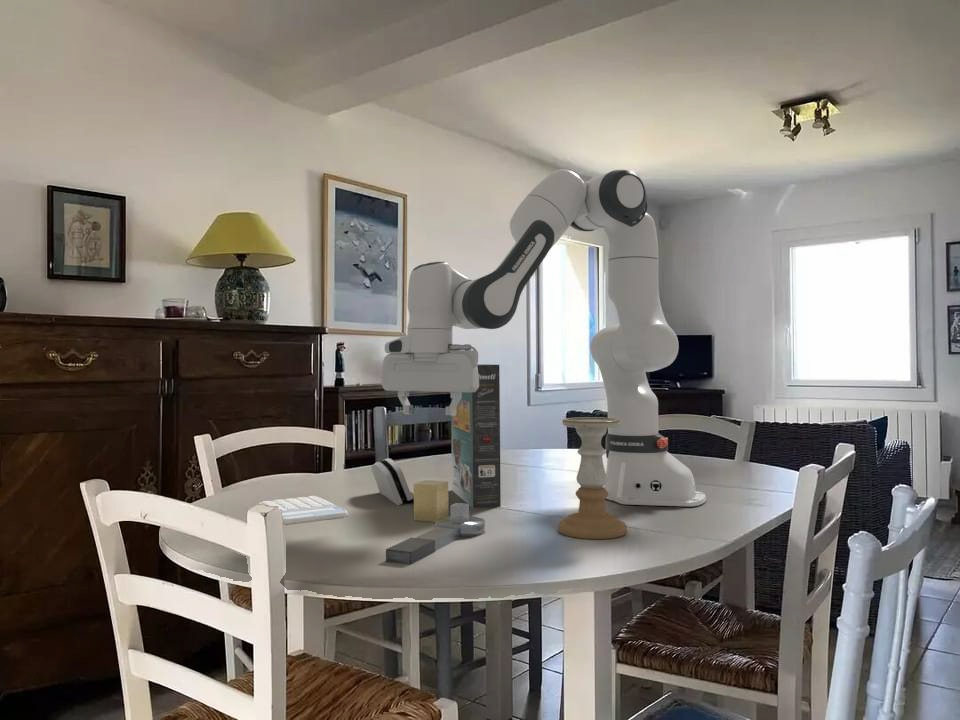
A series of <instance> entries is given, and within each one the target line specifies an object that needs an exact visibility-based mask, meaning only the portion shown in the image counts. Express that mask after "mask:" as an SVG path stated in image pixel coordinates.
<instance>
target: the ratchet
mask: <svg viewBox="0 0 960 720" xmlns="http://www.w3.org/2000/svg"><path fill="white" fill-rule="evenodd" d="M484 534H486V520H485V519H484V518H482V517H477V516H472V515H470V505H469V504H468V503H466V502H465V503H463V502H455V503H453V504H450V516H449V517H444V518H440V519H437V520H436V521H435V522H434V528H432V529H431V530H427V532H424V533H422V534H421V535H418V536H416V537H410V538H408V539H406V540H403V541H401V542H398V543H397V544H395V545H392V546H390V547H388V548H386V549H385V562H386V563H395V564H401V565H402V564H404V565H409V566H410V565H413V564H416V563H418V562H419V561H420V560H423V559H425V558H426V557H428V556H430V555H432V554H434V553H435V552H436V551H439V550H441V549H442V548H444V547H446V546H449V545H450V544H452V543H453V542H456V541H457V540H460V539H464V538H465V539H466V538H474V537H479V536H482V535H484Z"/></svg>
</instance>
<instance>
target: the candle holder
mask: <svg viewBox="0 0 960 720" xmlns="http://www.w3.org/2000/svg"><path fill="white" fill-rule="evenodd" d="M561 424H562V426H564V427H567V428H575V431H576V434H577V435H578V436H579V437H580V439H581V446H580V447H579V448H578V449H577V454H578V455H580V463H579V467H578V470H577V471H578V472H577V474H576V481H577V483H578V485H579V488H578V489H577V490H576V491H575V496H576V497H577V499H579V505H578V512H574V513H571V514H569V515H568V516H567V517H566V518H564V519H562V520H560V521H559V522H558V524H557V529H558V532H559V533H561V535H564V536H567V537H571V538H576V539H583V540H586V539H587V540H608V539H615V538H620V537H623V536H625V535H626V534H627V532H628V525H627V524H626V523H625V522H624V521H622V520H619V519H618V517H617V516H616V515H614V514H610V513H607V512H606V511H607V509H606V503H605V500H607V499H606V498H607V497H608V495H609V493H608V492H607V491H606V489H605V488H604V485H605V484H606V482H607V475H606V469H605V465H604V461H603V459H604V458H603V456H604V455H606V448H604V447H603V446H602V440H603V437H604V436H605V435H606V434H607V432H608V428H610V427H617V426H619V425H620V424H621V420H620V419H616V418H608V417H603V416H599V417H597V416H594V417H593V416H592V417H591V416H586V417H585V416H583V417H582V416H581V417H580V416H579V417H568V418H567V417H566V418H562V421H561Z"/></svg>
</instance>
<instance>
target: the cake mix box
mask: <svg viewBox="0 0 960 720" xmlns="http://www.w3.org/2000/svg"><path fill="white" fill-rule="evenodd" d="M477 367H478V375H479V388H478V389H477V391H476V392H470V393H467V392H462V398H461V400H460V402H459V404H458V405H457V407H456V416H450V417H451V422H450V423H451V426H450V427H451V431H450V432H451V491H452V492H453V493H455V494H456V495H457V496H458V497H459V498H460V499H462V501H464V502H465V504H469V507H471V508H472V509H476V508H477V509H478V508H497V507H501V505H502V503H501V502H502V501H501V497H502V495H501V407H500V406H501V401H500V400H501V399H500V397H501V396H500V395H501V393H500V390H501V389H500V386H501V385H500V381H501V380H500V379H501V378H500V375H501V374H500V364H491V363H490V364H486V363H485V364H479V363H478V364H477ZM450 399H451V400H450V403H451V402H452V400H453V398H451V397H450Z"/></svg>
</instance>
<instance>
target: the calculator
mask: <svg viewBox="0 0 960 720" xmlns="http://www.w3.org/2000/svg"><path fill="white" fill-rule="evenodd" d="M259 504H260V505H261V504H263V505H269V506H278V507H279V508H280V509H281V510H282V516H283V524H282V525H293V524H294V525H295V524H302V523H311V522H319V521H326V520H327V521H328V520H335V519H344V518H347V517H348V516H349V512H348V511H347V510H346V509H345V508H342V507H340V506H338V505H336V504H334V503H332V502H330V501H328V500H326V499H324V498H321V497H320V496H316V495H308V496H299V497H295V498H292V497H291V498H290V497H288V498H285V499H274V500H263V501H261V502H258V505H259Z"/></svg>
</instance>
